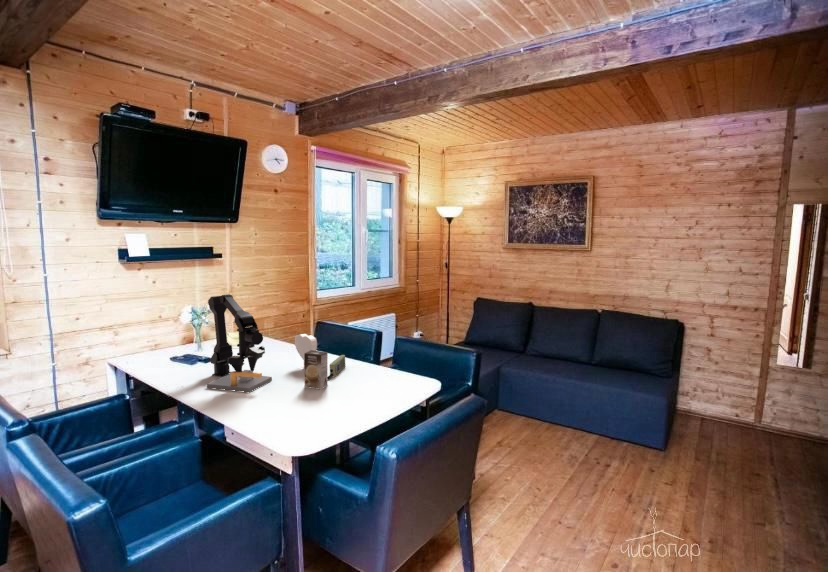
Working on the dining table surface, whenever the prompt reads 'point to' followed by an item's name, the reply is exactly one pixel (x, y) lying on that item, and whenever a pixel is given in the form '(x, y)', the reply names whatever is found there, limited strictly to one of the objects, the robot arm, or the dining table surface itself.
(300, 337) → the heart sculpture
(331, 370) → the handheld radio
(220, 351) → the robot arm
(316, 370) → the coffee box
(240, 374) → the long orange beam
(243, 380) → the plug
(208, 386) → the socket board
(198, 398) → the dining table surface
